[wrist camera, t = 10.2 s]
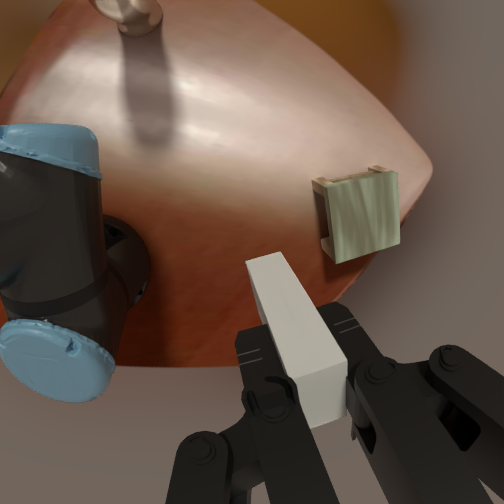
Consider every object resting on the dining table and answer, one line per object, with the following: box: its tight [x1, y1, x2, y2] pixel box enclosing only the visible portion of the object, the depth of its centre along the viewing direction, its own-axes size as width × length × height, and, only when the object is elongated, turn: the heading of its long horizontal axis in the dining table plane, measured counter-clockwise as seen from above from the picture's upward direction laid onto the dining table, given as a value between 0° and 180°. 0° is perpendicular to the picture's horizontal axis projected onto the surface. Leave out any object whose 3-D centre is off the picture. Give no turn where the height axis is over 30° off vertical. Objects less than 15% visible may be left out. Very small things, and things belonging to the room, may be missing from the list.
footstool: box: [312, 166, 400, 264], centre depth 43 cm, size 6×11×11 cm
